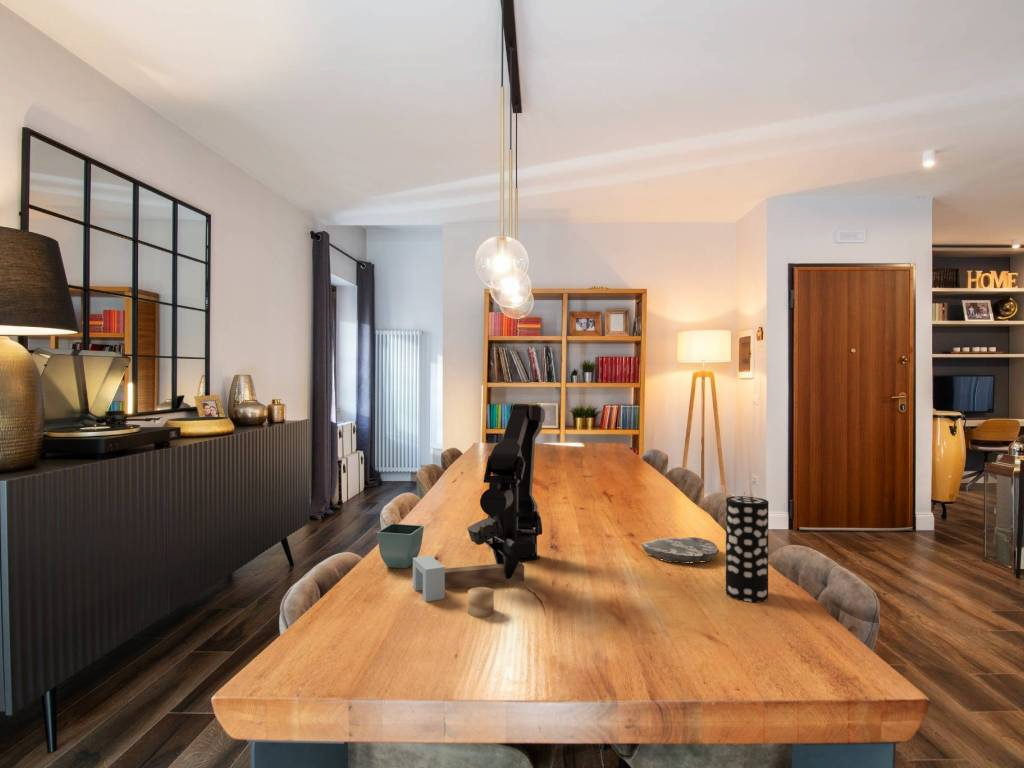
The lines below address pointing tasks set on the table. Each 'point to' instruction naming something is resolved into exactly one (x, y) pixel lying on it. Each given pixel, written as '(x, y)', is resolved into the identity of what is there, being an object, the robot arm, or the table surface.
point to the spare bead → (480, 602)
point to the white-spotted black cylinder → (747, 548)
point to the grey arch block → (429, 577)
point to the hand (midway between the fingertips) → (504, 576)
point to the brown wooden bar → (481, 575)
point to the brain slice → (681, 549)
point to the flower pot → (400, 544)
